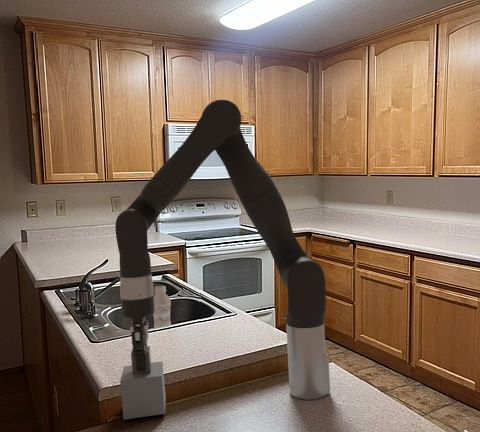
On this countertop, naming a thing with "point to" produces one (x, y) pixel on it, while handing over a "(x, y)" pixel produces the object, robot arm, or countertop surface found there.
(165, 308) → the plastic bottle
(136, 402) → the stepped gray cube pair
